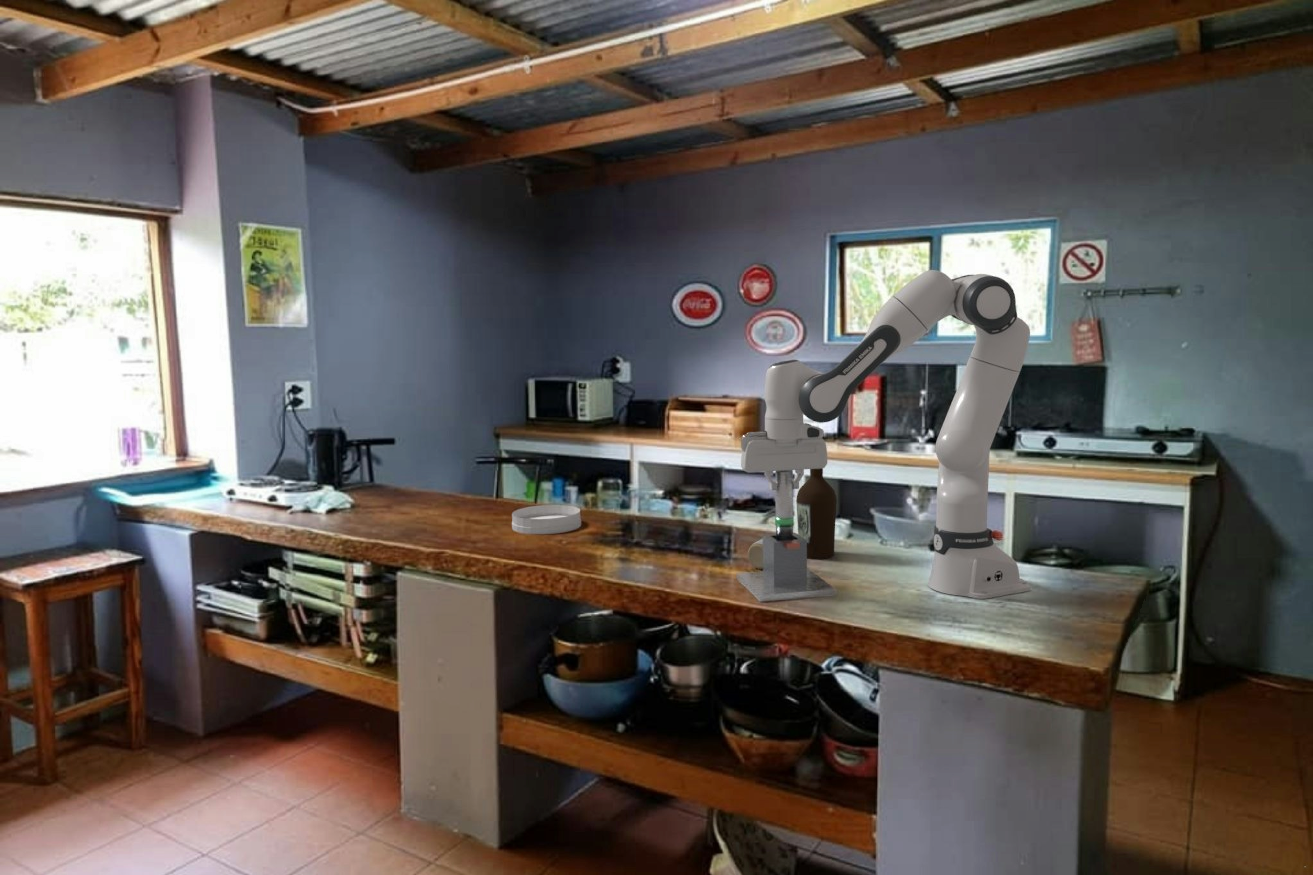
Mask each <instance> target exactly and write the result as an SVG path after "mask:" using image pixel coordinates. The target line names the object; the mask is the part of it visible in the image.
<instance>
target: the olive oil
mask: <svg viewBox="0 0 1313 875" xmlns="http://www.w3.org/2000/svg"><path fill="white" fill-rule="evenodd" d="M809 475H810V476H809V478H808V479H807V480H806V481H805V482H804V484H802V486H801V487H799V489H798V491H797V494H796V518H797V534H798V535H799V536H801V537H802V538H804V539H805V540H807V559H812V560H824V559H830V558H832V557H834V556H835V544H836V543H835V541H836V540H835V535H836V518H837V503H838V502H837V501H838V499H837V494H836V492H835V490H834V488H833V487H832V486H831V485H830V484H829V483H828V481H826V480H825V478H824V468H820V469H809Z"/></svg>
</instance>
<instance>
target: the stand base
mask: <svg viewBox="0 0 1313 875" xmlns="http://www.w3.org/2000/svg"><path fill="white" fill-rule="evenodd" d="M762 539H763V569H762V570H761V571H759V570H758V571H748V572H738V573H736V579H737V580H738V582H739V583H740V584H742V585H743V586H744V587H745V588H746V590H747V591H749V592H750V594H752V596H754V597H755V598H756V599H757V600H758V601H759V602H761V603H762V602H773V601H774V602H775V601H784V600H786V601H787V600H796V599H808V598H818V597H819V598H820V597H830V596H836V595H837V594H836V587H834V586H832V585H831V584H829V582H827V581H825V579H823V578H822V577H820V576H818V575H817V574H816V573H814V571H812V570H810V569H809V568H807V567H808V562H807V561H808V558H807V540H805V539H804V538H802V537H801V536H799V535H798V533H796V532H794V531H793V540H783V541H777V540H776V533H771V534H769V533H767V534H762Z"/></svg>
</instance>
